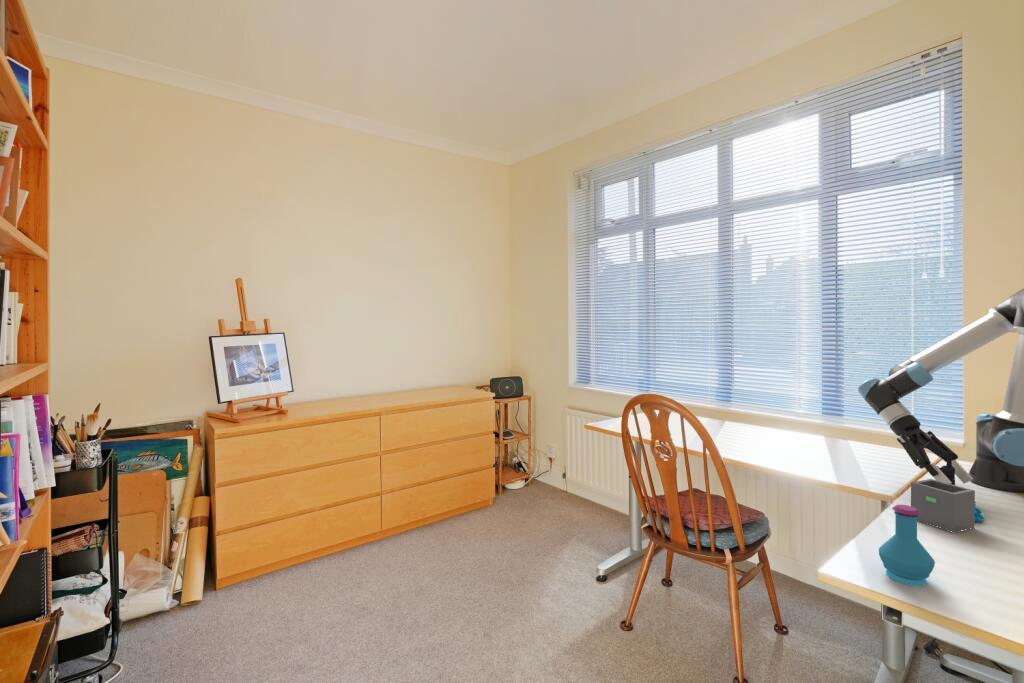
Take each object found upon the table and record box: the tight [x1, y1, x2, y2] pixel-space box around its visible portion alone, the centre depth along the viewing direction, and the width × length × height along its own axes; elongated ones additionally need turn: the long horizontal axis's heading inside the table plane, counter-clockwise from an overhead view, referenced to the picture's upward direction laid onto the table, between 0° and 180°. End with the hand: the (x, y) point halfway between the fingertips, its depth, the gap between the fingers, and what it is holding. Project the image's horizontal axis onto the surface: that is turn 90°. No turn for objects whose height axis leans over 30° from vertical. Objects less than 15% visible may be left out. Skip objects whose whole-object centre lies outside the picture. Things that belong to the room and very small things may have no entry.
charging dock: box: [910, 478, 976, 533], centre depth 127 cm, size 8×10×10 cm
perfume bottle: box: [878, 504, 936, 587], centre depth 101 cm, size 9×9×15 cm
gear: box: [974, 501, 985, 523], centre depth 132 cm, size 11×6×10 cm
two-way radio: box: [936, 451, 956, 485], centre depth 144 cm, size 6×4×15 cm
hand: (958, 483), depth 141 cm, fingers open, 9 cm apart
